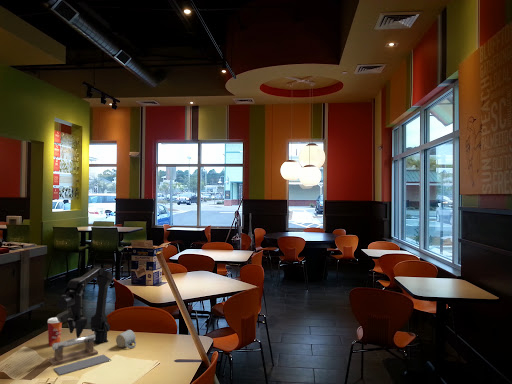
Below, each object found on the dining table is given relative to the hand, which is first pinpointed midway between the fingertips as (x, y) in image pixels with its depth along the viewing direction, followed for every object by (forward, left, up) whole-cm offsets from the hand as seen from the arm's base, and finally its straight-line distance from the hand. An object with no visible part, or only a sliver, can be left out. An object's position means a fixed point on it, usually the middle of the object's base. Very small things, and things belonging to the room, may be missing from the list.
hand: (74, 335), depth 192 cm
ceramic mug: (-27, +4, -12) cm, 30 cm away
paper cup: (+1, -27, -12) cm, 29 cm away
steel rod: (0, 0, -5) cm, 5 cm away
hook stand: (0, 0, -11) cm, 11 cm away
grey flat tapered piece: (0, +12, -11) cm, 17 cm away
